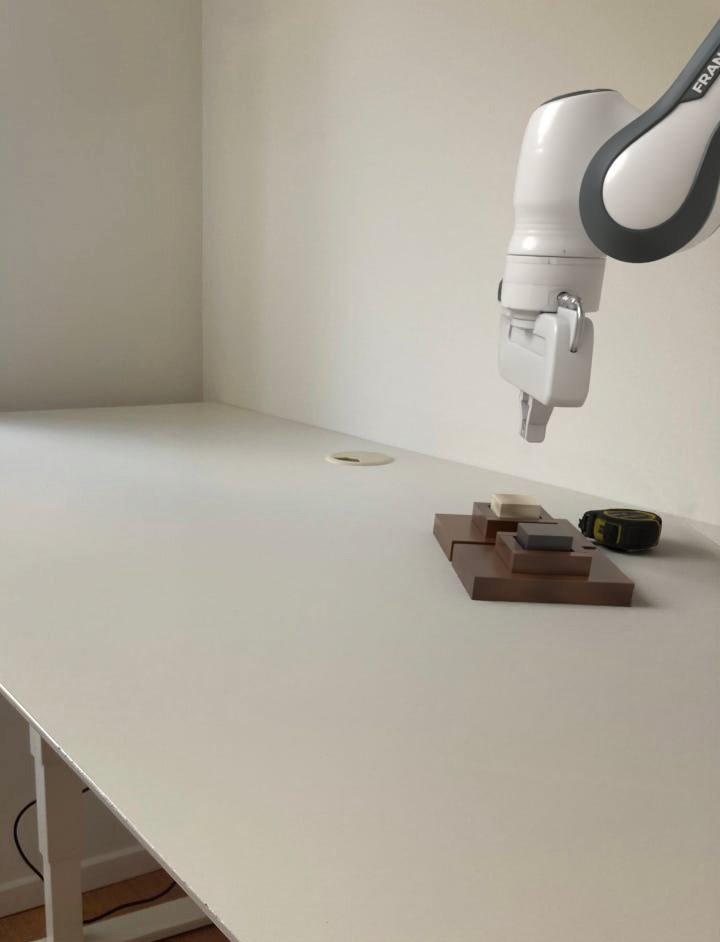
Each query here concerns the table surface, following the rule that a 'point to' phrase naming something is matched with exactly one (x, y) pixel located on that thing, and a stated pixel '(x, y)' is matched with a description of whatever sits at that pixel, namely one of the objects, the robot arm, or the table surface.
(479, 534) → the key block far
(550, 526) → the black key
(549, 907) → the table surface
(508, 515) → the ivory key
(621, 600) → the key block near
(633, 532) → the tape measure
